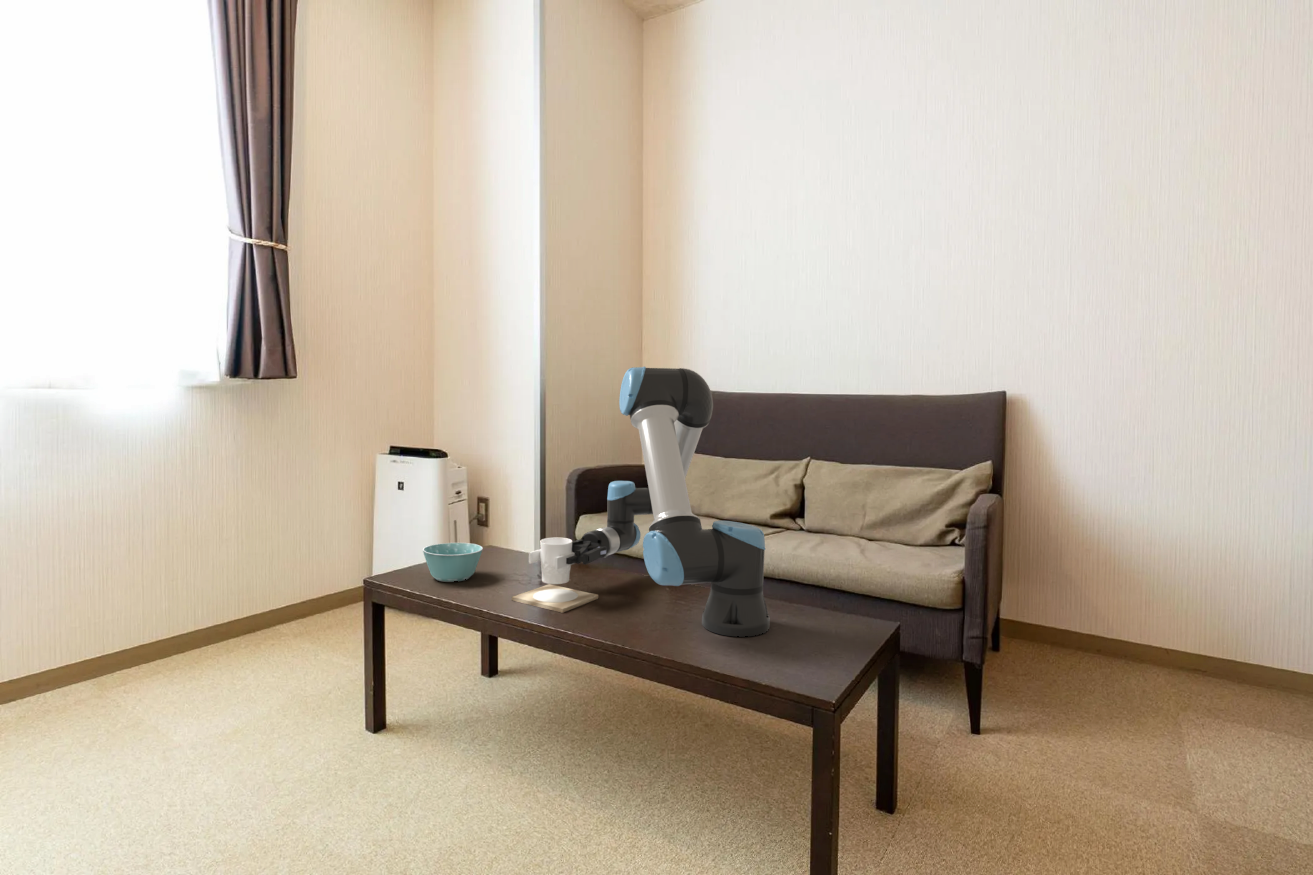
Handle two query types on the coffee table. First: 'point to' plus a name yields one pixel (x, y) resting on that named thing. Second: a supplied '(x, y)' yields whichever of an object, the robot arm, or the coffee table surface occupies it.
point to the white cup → (548, 553)
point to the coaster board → (555, 598)
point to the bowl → (452, 560)
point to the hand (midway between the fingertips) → (542, 560)
